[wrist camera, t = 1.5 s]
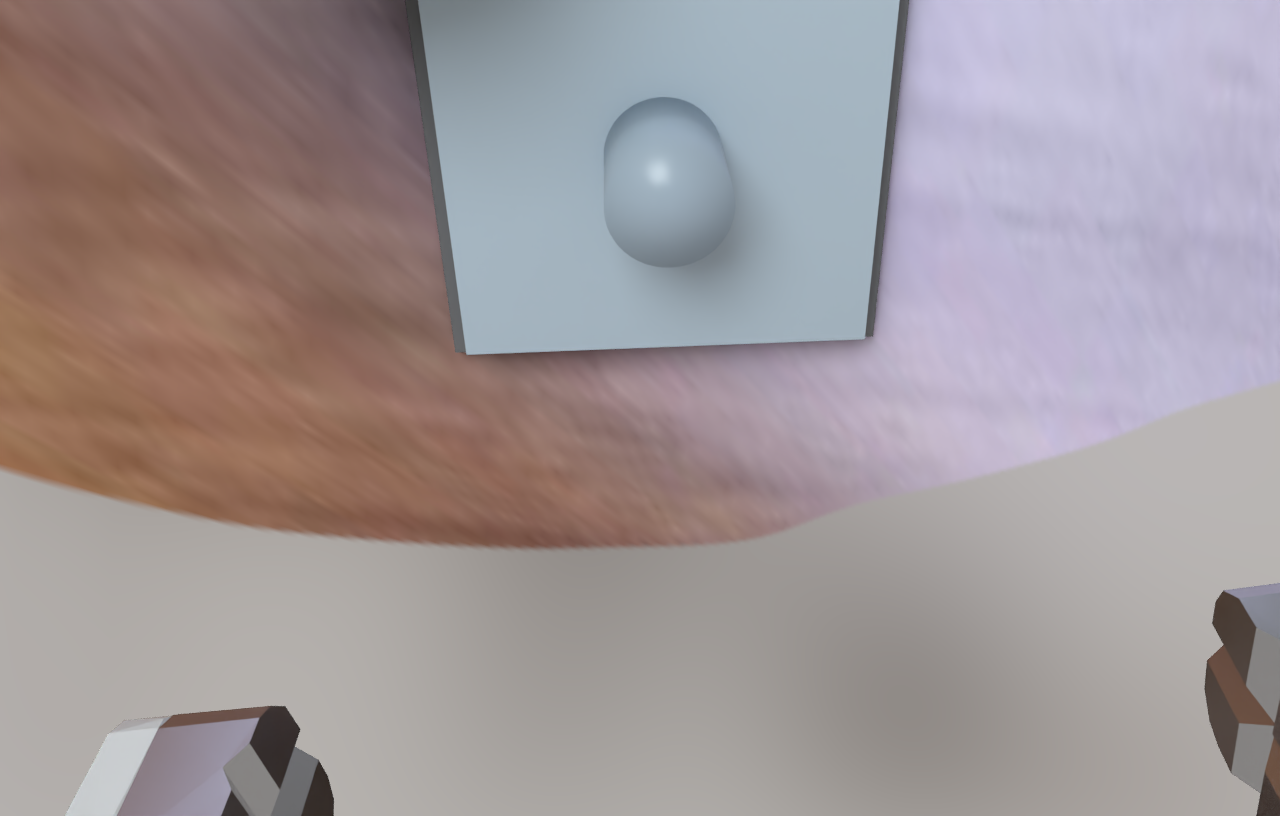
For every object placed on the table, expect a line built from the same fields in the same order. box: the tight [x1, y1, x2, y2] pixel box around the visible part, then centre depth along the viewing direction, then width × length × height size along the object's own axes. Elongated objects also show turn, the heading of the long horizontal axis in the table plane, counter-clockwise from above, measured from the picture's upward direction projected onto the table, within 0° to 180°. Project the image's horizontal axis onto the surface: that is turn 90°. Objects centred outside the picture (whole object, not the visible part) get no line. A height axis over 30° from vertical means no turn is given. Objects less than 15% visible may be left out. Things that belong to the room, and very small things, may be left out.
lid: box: [418, 0, 900, 355], centre depth 28 cm, size 12×12×4 cm
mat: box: [405, 0, 909, 352], centre depth 30 cm, size 13×13×1 cm
